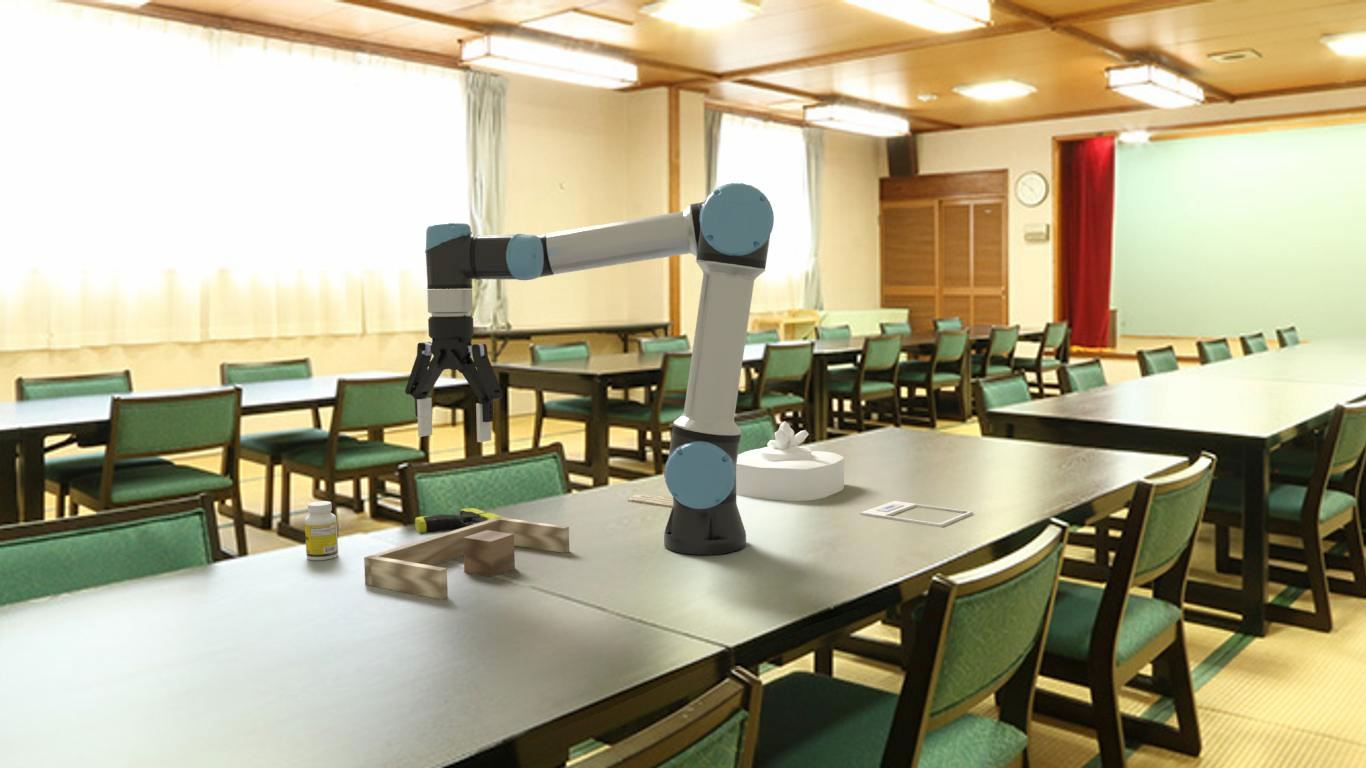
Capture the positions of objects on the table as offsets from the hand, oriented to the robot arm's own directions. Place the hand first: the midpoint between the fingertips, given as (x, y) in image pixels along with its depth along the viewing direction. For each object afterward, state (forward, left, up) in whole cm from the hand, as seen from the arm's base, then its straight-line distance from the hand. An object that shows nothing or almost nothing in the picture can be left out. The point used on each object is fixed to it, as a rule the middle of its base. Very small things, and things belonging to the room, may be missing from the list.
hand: (454, 438), depth 181 cm
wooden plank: (-10, -59, -23) cm, 64 cm away
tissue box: (-22, -86, -22) cm, 92 cm away
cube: (-8, +1, -22) cm, 23 cm away
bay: (-4, +1, -22) cm, 22 cm away
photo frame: (-58, -74, -22) cm, 97 cm away
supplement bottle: (+24, +9, -22) cm, 34 cm away
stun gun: (+15, -18, -22) cm, 33 cm away
